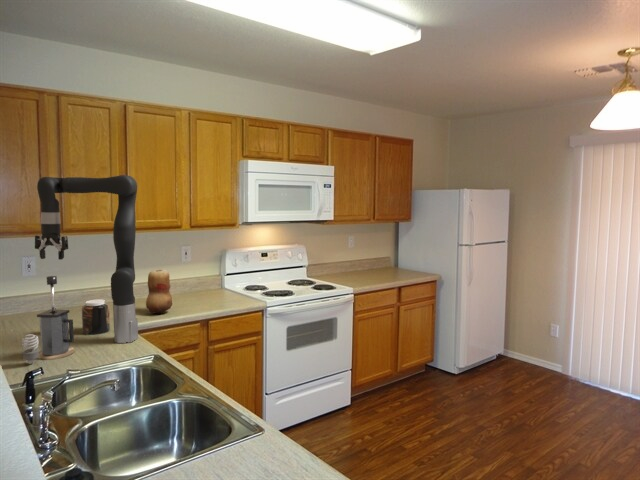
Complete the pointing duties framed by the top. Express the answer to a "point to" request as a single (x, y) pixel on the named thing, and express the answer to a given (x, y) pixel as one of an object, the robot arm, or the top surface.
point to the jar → (95, 317)
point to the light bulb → (30, 353)
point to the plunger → (52, 290)
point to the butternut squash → (158, 291)
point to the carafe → (55, 332)
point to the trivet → (42, 357)
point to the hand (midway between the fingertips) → (51, 259)
